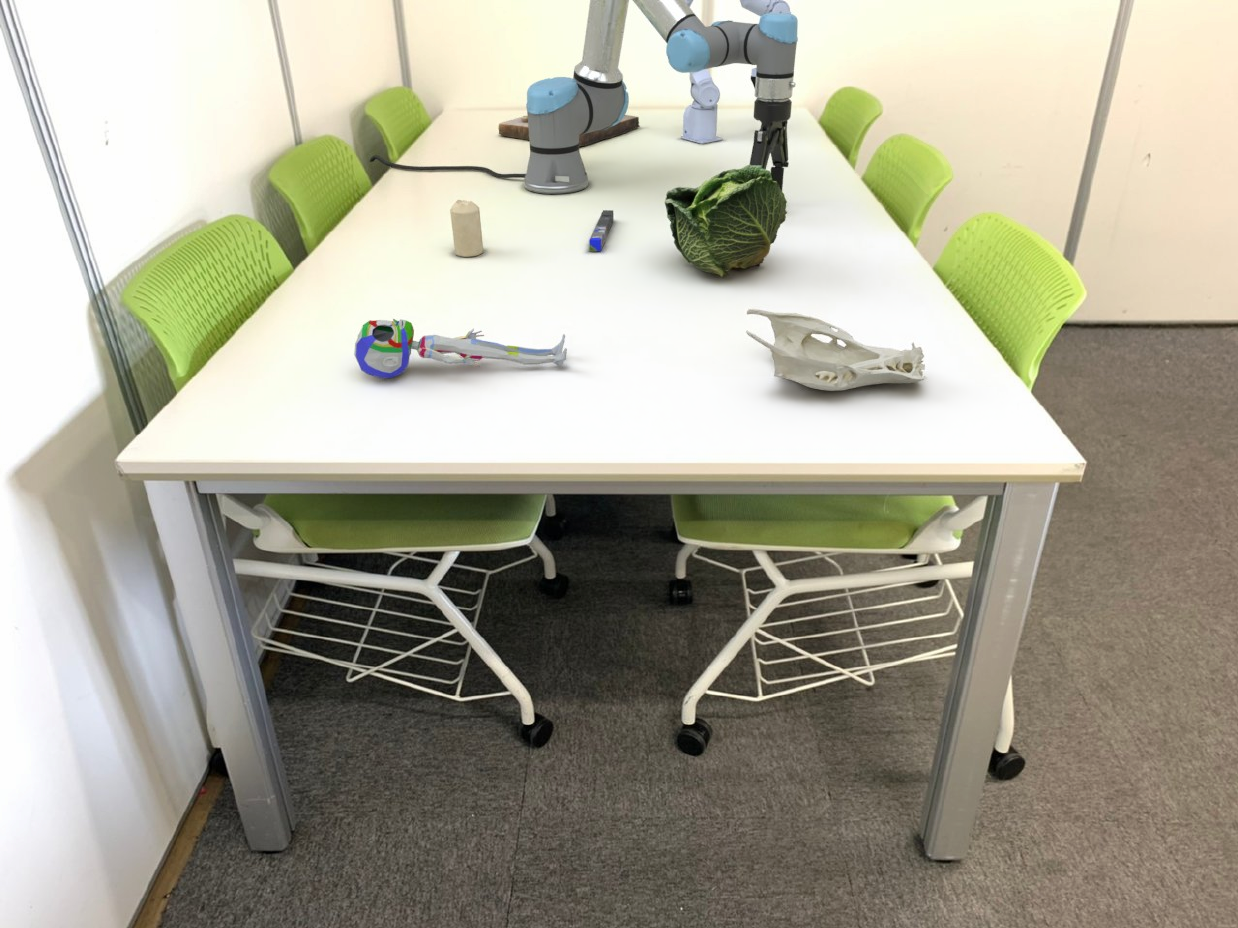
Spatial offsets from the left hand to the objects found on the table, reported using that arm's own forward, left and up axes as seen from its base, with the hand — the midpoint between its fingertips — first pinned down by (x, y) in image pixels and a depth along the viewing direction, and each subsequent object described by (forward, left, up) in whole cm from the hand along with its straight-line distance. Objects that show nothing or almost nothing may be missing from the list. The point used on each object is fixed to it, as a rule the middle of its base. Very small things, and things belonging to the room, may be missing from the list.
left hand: (765, 205), depth 193 cm
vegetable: (+15, -33, -2) cm, 36 cm away
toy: (+13, -91, -2) cm, 92 cm away
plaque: (-90, +27, -2) cm, 94 cm away
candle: (-27, -59, -2) cm, 65 cm away
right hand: (-43, +60, +8) cm, 74 cm away
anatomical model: (+55, -58, -2) cm, 80 cm away
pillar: (-15, -35, -2) cm, 38 cm away
